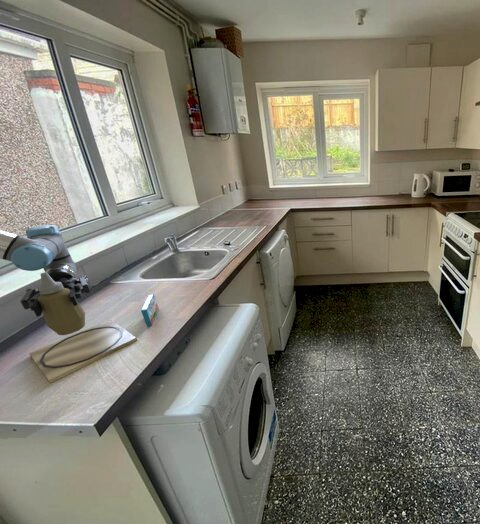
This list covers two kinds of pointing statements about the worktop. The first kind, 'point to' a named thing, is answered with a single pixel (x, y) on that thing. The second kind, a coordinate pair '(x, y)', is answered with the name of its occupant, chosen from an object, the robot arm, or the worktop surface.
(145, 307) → the printed carton box
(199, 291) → the worktop surface
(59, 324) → the squeeze bottle
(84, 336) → the cutting board
